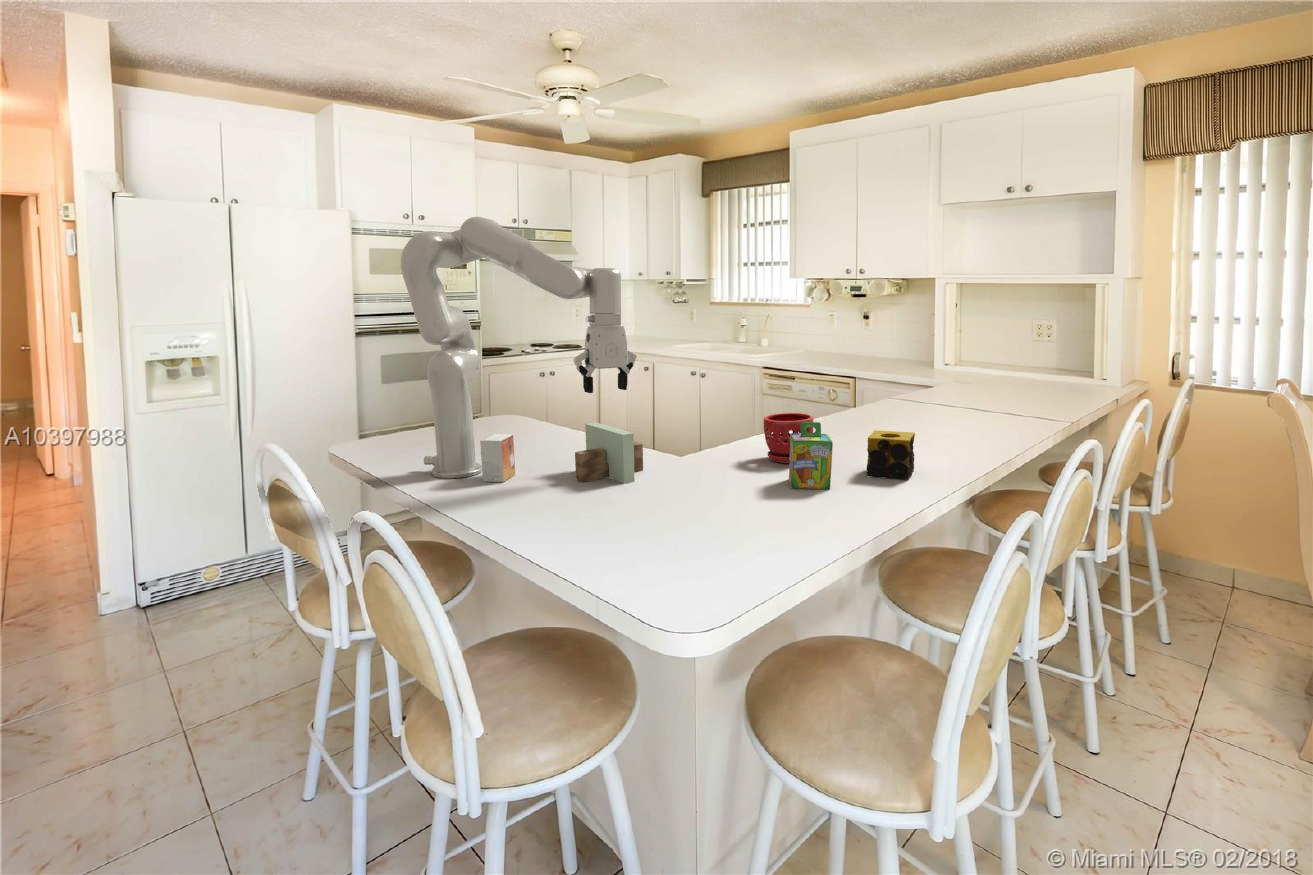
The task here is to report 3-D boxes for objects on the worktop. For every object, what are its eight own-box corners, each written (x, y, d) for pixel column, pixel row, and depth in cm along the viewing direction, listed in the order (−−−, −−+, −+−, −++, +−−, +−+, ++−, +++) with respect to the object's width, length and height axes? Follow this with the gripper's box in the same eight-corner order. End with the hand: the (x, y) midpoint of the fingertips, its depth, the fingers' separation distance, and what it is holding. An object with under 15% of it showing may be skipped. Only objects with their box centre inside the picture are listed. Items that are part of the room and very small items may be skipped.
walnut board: (582, 482, 180) (581, 454, 178) (575, 479, 182) (574, 452, 181) (643, 470, 190) (642, 443, 188) (636, 468, 192) (636, 442, 191)
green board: (586, 469, 192) (585, 423, 190) (596, 467, 194) (595, 422, 192) (624, 483, 178) (622, 434, 175) (634, 481, 180) (633, 433, 177)
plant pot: (797, 452, 207) (798, 410, 204) (821, 463, 195) (823, 418, 192) (754, 456, 203) (755, 413, 200) (777, 467, 191) (778, 422, 188)
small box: (503, 482, 180) (501, 440, 178) (482, 482, 181) (479, 440, 179) (516, 474, 188) (513, 434, 186) (495, 473, 189) (493, 433, 187)
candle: (914, 471, 185) (916, 432, 183) (909, 481, 176) (911, 440, 174) (872, 467, 190) (874, 429, 188) (865, 477, 181) (867, 437, 179)
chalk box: (791, 489, 171) (792, 426, 168) (788, 479, 180) (789, 419, 177) (831, 490, 170) (834, 427, 167) (826, 479, 179) (828, 419, 176)
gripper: (581, 322, 170) (582, 395, 174) (643, 320, 180) (643, 390, 183) (566, 320, 176) (567, 391, 180) (627, 318, 186) (626, 386, 189)
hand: (605, 390), depth 182 cm, fingers open, 9 cm apart
